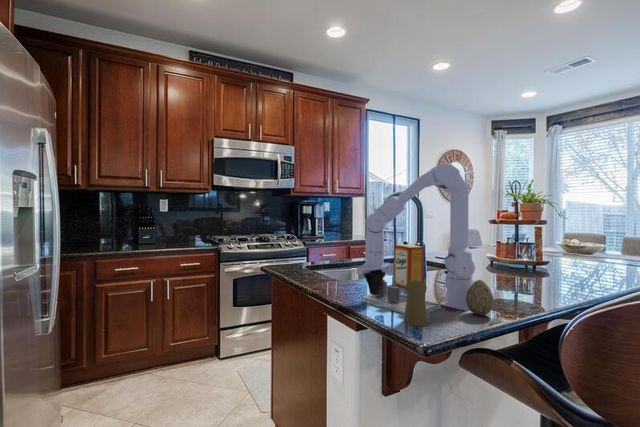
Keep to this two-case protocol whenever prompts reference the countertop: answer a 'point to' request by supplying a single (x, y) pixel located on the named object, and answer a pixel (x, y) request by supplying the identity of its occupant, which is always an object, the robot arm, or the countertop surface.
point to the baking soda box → (407, 264)
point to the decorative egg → (479, 298)
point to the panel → (397, 303)
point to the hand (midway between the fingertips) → (373, 294)
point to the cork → (415, 303)
